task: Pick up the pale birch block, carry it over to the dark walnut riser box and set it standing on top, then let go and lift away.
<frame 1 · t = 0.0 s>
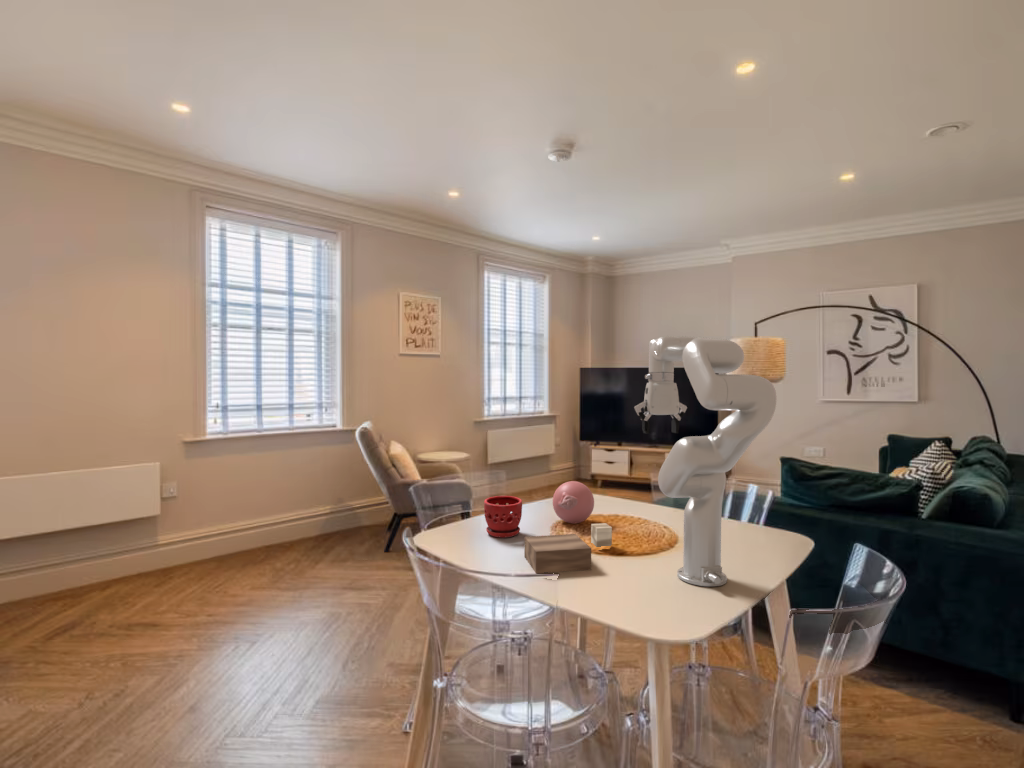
hand: (660, 433, 167), 37 cm above the table, tool pointing down, fingers open, 9 cm apart
plant pot: (502, 534, 184), on the table
birch block: (601, 547, 170), on the table
balloon: (570, 524, 197), on the table
walnut riser: (556, 562, 155), on the table
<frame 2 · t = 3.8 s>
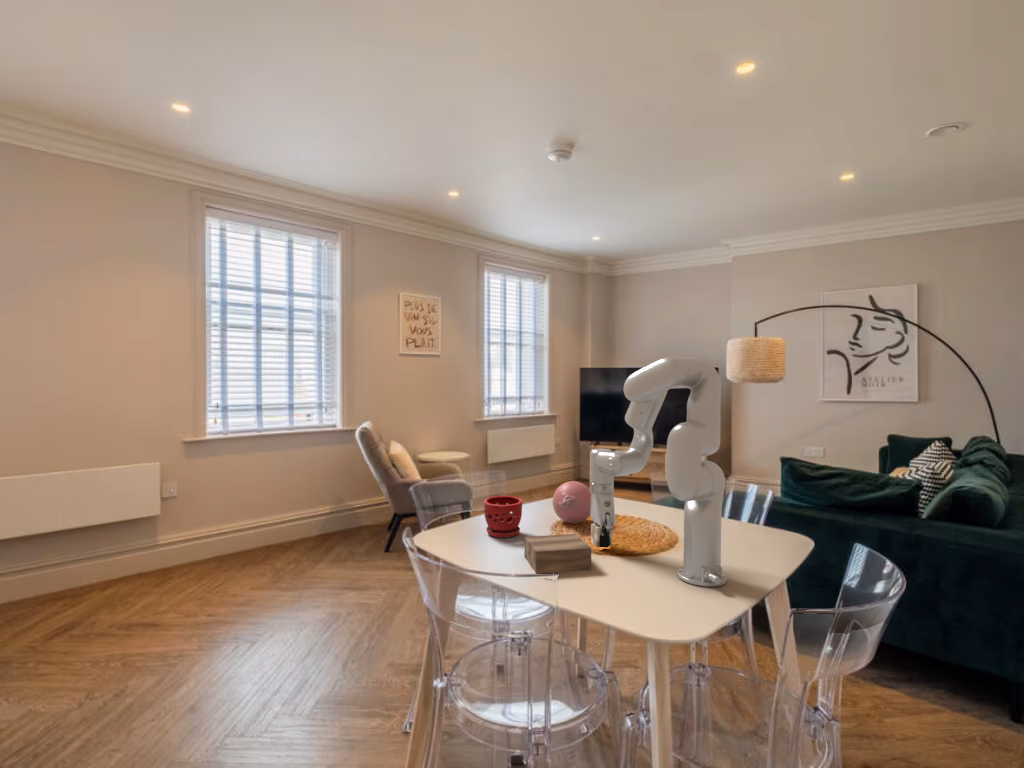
hand: (601, 544, 170), 1 cm above the table, tool pointing down, fingers closed on birch block, 5 cm apart
birch block: (601, 547, 170), on the table, touching gripper
everything else where it was.
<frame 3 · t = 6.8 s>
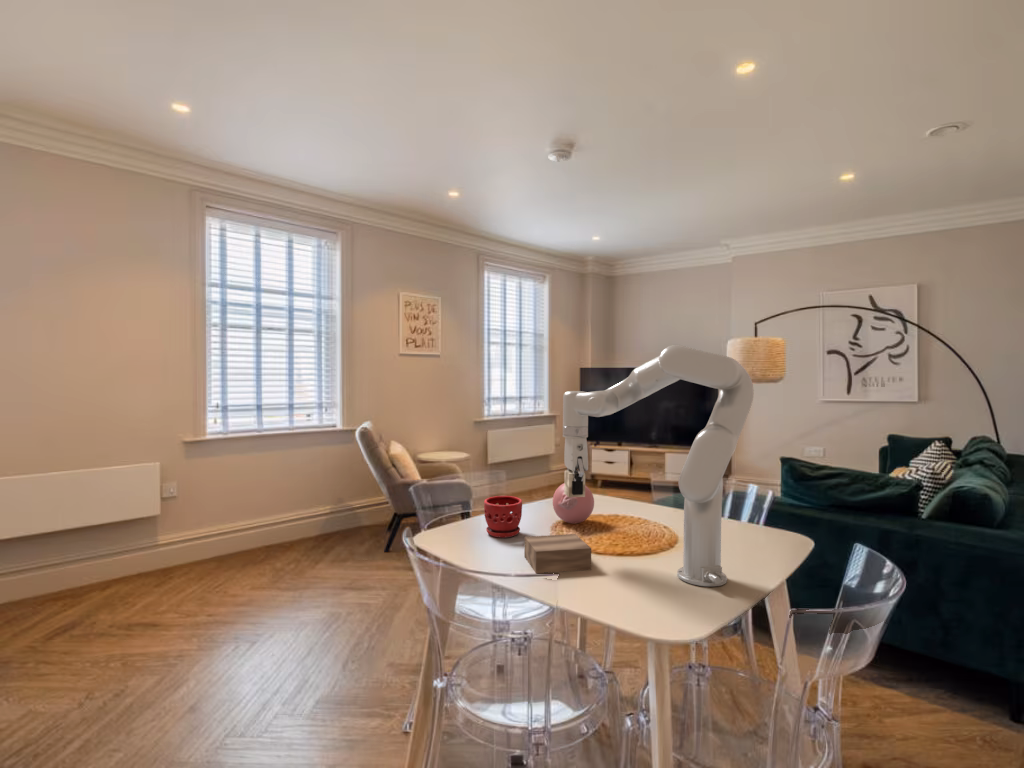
hand: (574, 491, 161), 20 cm above the table, tool pointing down, fingers closed on birch block, 5 cm apart
birch block: (574, 495, 161), point 19 cm above the table, touching gripper
everything else where it was.
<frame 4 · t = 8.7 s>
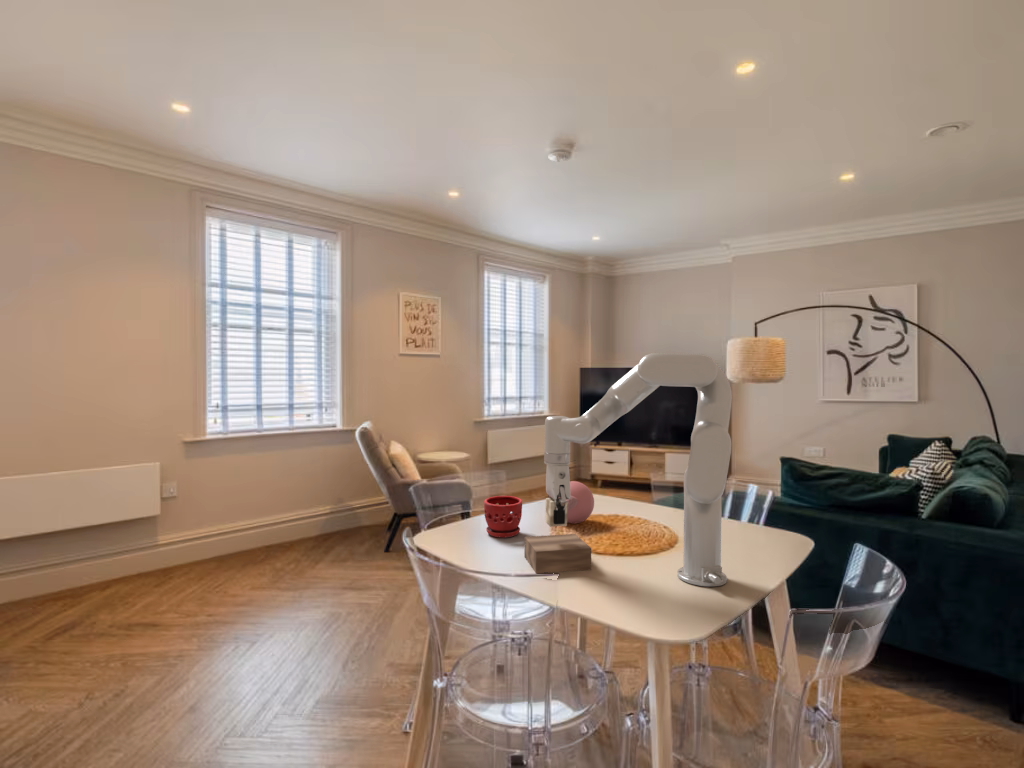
hand: (556, 520, 155), 12 cm above the table, tool pointing down, fingers closed on birch block, 5 cm apart
birch block: (556, 523, 155), point 11 cm above the table, touching gripper
everything else where it was.
when the fingers open (8 cm above the table, at t = 10.2 s): birch block drops 1 cm, resting on walnut riser.
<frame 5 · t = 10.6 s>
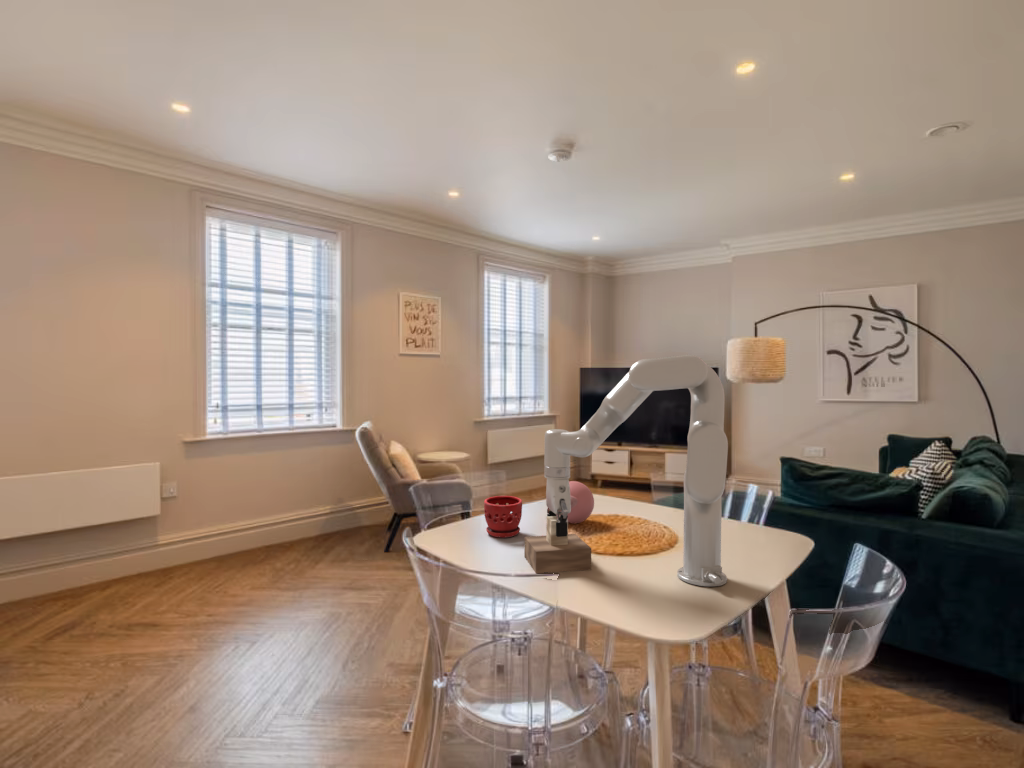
hand: (556, 531, 155), 9 cm above the table, tool pointing down, fingers open, 8 cm apart
birch block: (556, 542, 155), point 6 cm above the table, touching walnut riser
everything else where it was.
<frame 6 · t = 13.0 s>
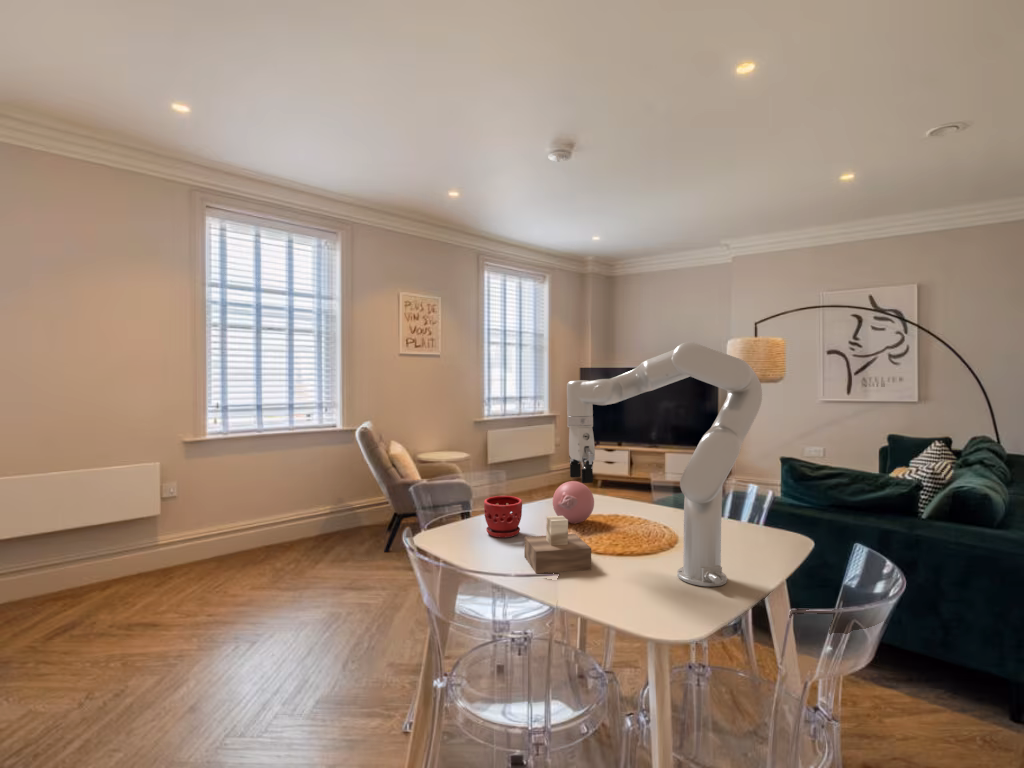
hand: (581, 479, 158), 24 cm above the table, tool pointing down, fingers open, 9 cm apart
nothing on the table moved.
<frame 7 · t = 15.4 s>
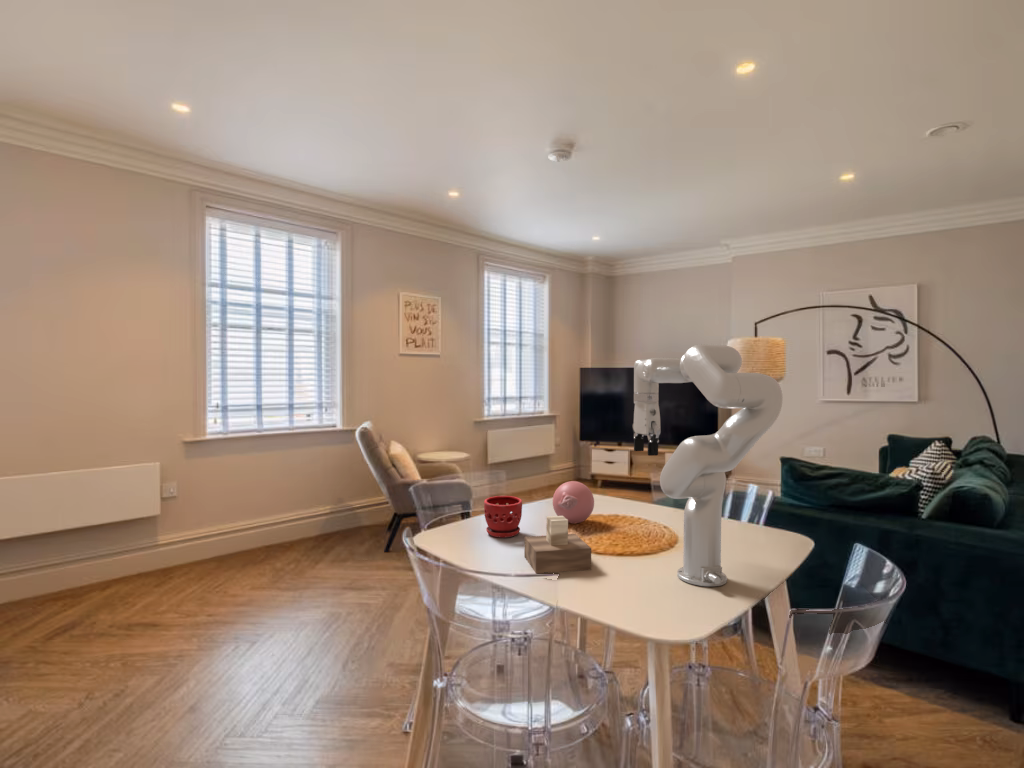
hand: (645, 453, 168), 30 cm above the table, tool pointing down, fingers open, 9 cm apart
nothing on the table moved.
at the end: birch block inside the target area on the walnut riser (0.0 cm from its centre), point 6.0 cm above the walnut riser's base; birch block tilted 0°; the gripper is holding nothing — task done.
